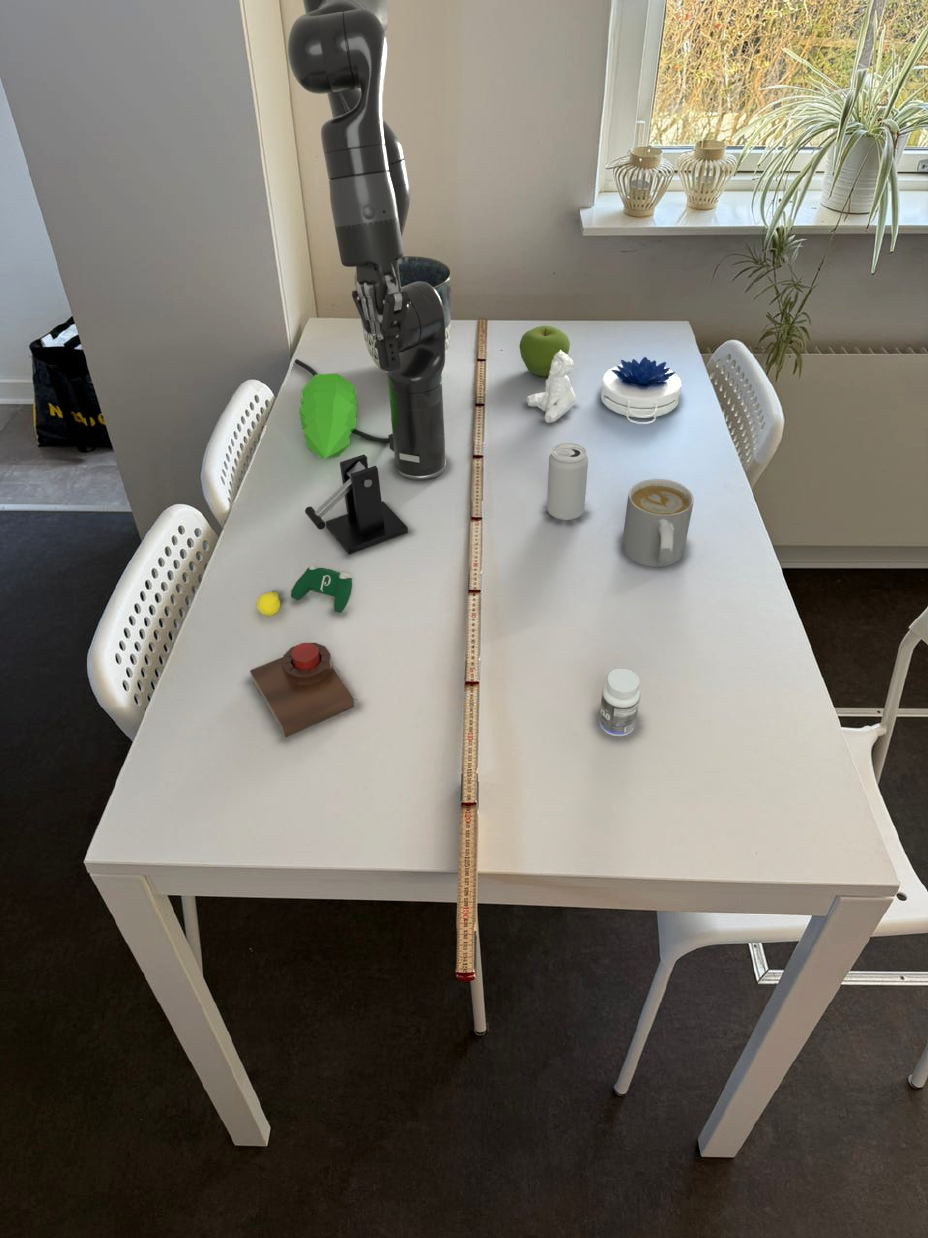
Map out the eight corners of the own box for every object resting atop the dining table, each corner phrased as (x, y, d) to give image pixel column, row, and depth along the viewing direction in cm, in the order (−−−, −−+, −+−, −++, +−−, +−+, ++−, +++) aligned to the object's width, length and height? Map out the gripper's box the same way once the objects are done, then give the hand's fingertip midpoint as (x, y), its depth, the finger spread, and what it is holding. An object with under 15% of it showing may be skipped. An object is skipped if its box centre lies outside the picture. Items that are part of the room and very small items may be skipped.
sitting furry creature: (524, 404, 175) (525, 348, 167) (560, 393, 178) (563, 338, 170) (548, 424, 169) (551, 367, 161) (585, 413, 172) (589, 357, 164)
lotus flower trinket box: (604, 348, 177) (602, 395, 163) (681, 351, 176) (685, 399, 161) (602, 379, 182) (599, 427, 168) (676, 382, 180) (680, 431, 166)
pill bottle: (595, 711, 114) (600, 667, 108) (630, 708, 114) (637, 664, 109) (602, 739, 111) (608, 695, 105) (638, 736, 111) (646, 692, 105)
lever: (322, 532, 137) (313, 524, 136) (310, 517, 141) (301, 509, 139) (377, 480, 137) (369, 471, 135) (363, 465, 140) (355, 457, 138)
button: (289, 658, 118) (287, 649, 117) (313, 648, 119) (311, 639, 118) (299, 674, 116) (297, 665, 114) (324, 664, 117) (322, 654, 116)
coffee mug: (623, 526, 144) (630, 475, 137) (684, 532, 142) (693, 481, 136) (618, 577, 134) (625, 525, 128) (683, 584, 133) (693, 532, 126)
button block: (252, 681, 120) (247, 660, 117) (320, 653, 124) (316, 633, 121) (285, 737, 112) (280, 717, 110) (356, 706, 116) (352, 686, 113)
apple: (521, 360, 190) (522, 316, 183) (569, 362, 188) (571, 318, 182) (516, 383, 182) (517, 338, 175) (566, 386, 180) (569, 340, 174)
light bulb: (259, 622, 129) (249, 601, 127) (271, 605, 134) (262, 585, 133) (279, 617, 128) (270, 596, 127) (290, 599, 133) (281, 579, 132)
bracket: (348, 554, 140) (339, 489, 132) (326, 527, 146) (315, 462, 137) (408, 532, 144) (402, 467, 136) (383, 506, 150) (376, 442, 141)
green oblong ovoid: (341, 347, 169) (336, 419, 146) (369, 396, 176) (368, 472, 153) (291, 372, 171) (278, 446, 148) (320, 419, 178) (313, 497, 155)
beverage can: (582, 524, 145) (587, 463, 136) (544, 521, 146) (546, 460, 138) (585, 503, 149) (590, 442, 141) (548, 499, 150) (551, 439, 142)
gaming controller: (350, 615, 132) (361, 578, 132) (339, 613, 128) (350, 574, 128) (299, 600, 135) (310, 563, 135) (287, 597, 131) (298, 559, 131)
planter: (454, 394, 179) (450, 292, 165) (361, 395, 180) (349, 294, 165) (455, 351, 193) (452, 254, 179) (369, 353, 194) (359, 256, 179)
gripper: (418, 212, 96) (440, 369, 104) (374, 215, 107) (397, 358, 115) (356, 222, 93) (383, 382, 101) (318, 224, 104) (345, 369, 112)
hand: (390, 369), depth 108 cm, fingers closed
